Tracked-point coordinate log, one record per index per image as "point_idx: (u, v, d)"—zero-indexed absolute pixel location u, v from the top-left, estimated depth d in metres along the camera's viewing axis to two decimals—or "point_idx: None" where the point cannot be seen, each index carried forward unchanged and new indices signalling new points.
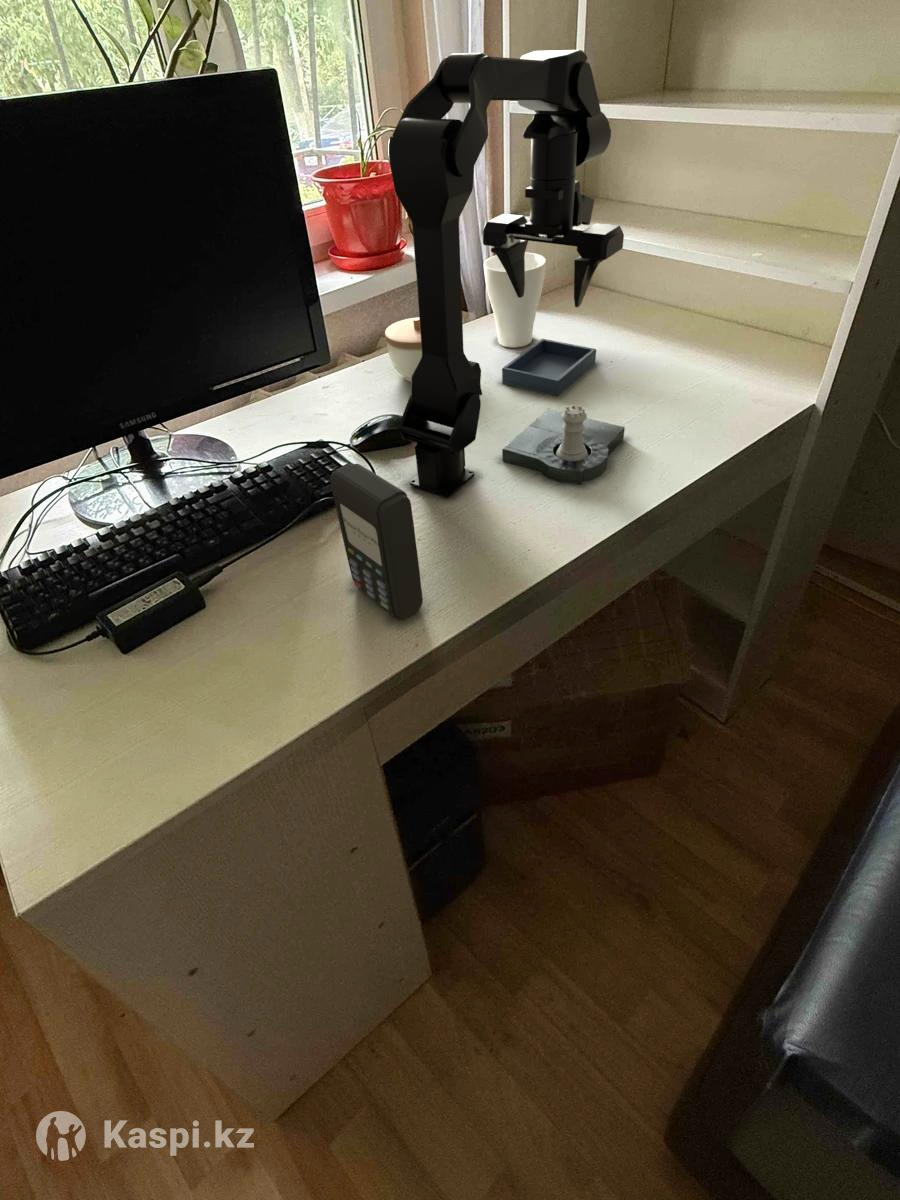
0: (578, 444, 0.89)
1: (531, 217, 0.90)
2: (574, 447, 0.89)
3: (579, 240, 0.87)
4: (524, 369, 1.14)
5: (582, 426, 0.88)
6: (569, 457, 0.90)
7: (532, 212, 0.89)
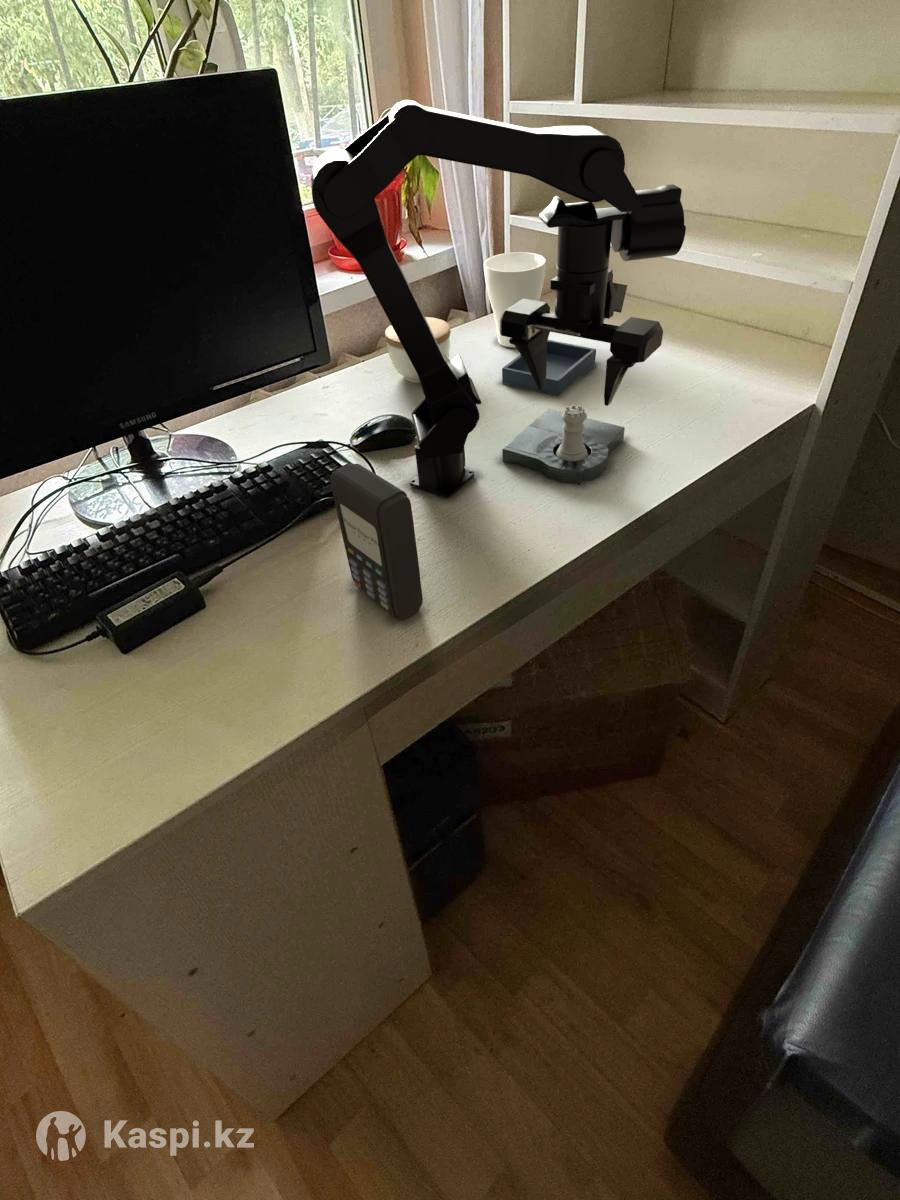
0: (578, 444, 0.89)
1: (557, 310, 0.78)
2: (574, 447, 0.89)
3: (613, 339, 0.76)
4: (524, 369, 1.14)
5: (582, 426, 0.88)
6: (569, 457, 0.90)
7: (558, 305, 0.78)
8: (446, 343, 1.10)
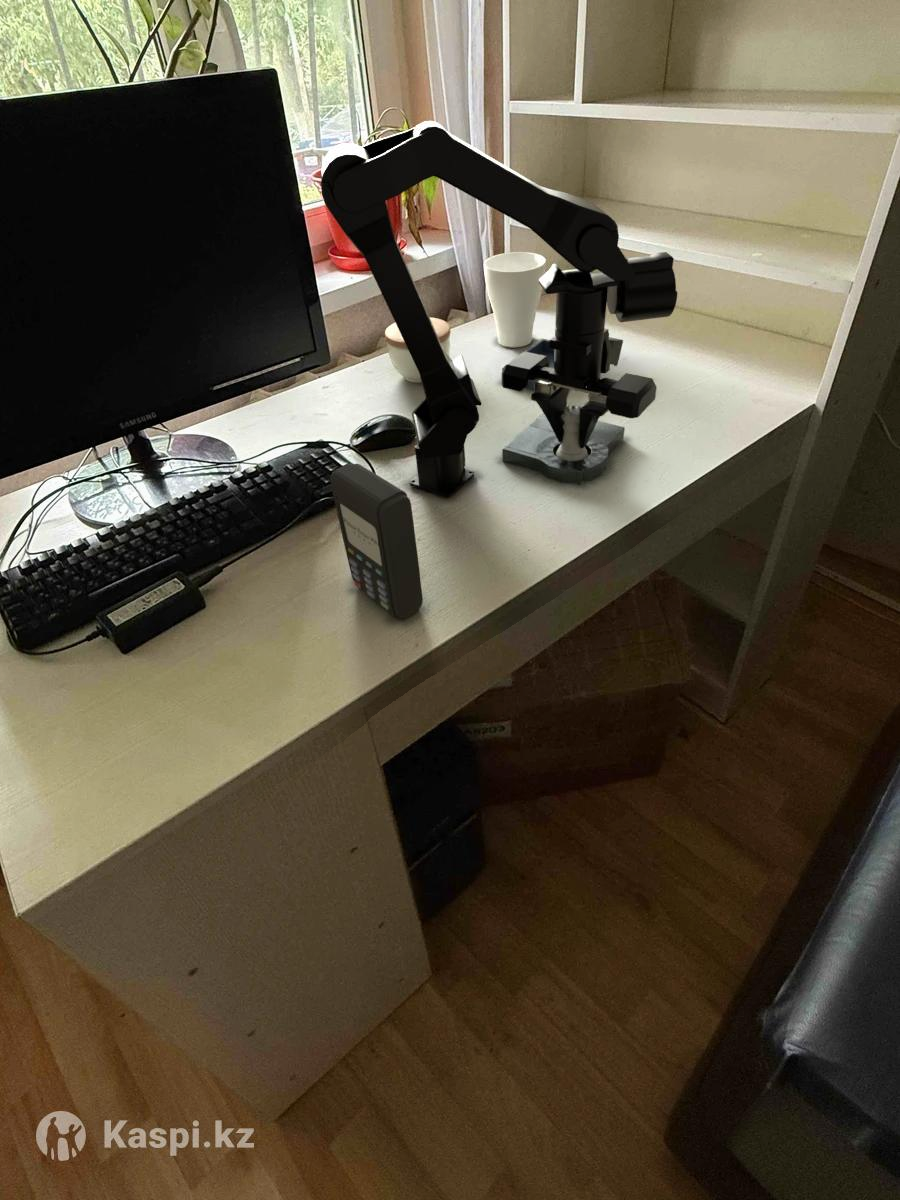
0: (578, 444, 0.89)
1: (555, 366, 0.83)
2: (574, 447, 0.89)
3: (608, 396, 0.80)
4: None
5: None
6: (569, 457, 0.90)
7: (557, 362, 0.82)
8: (446, 343, 1.10)
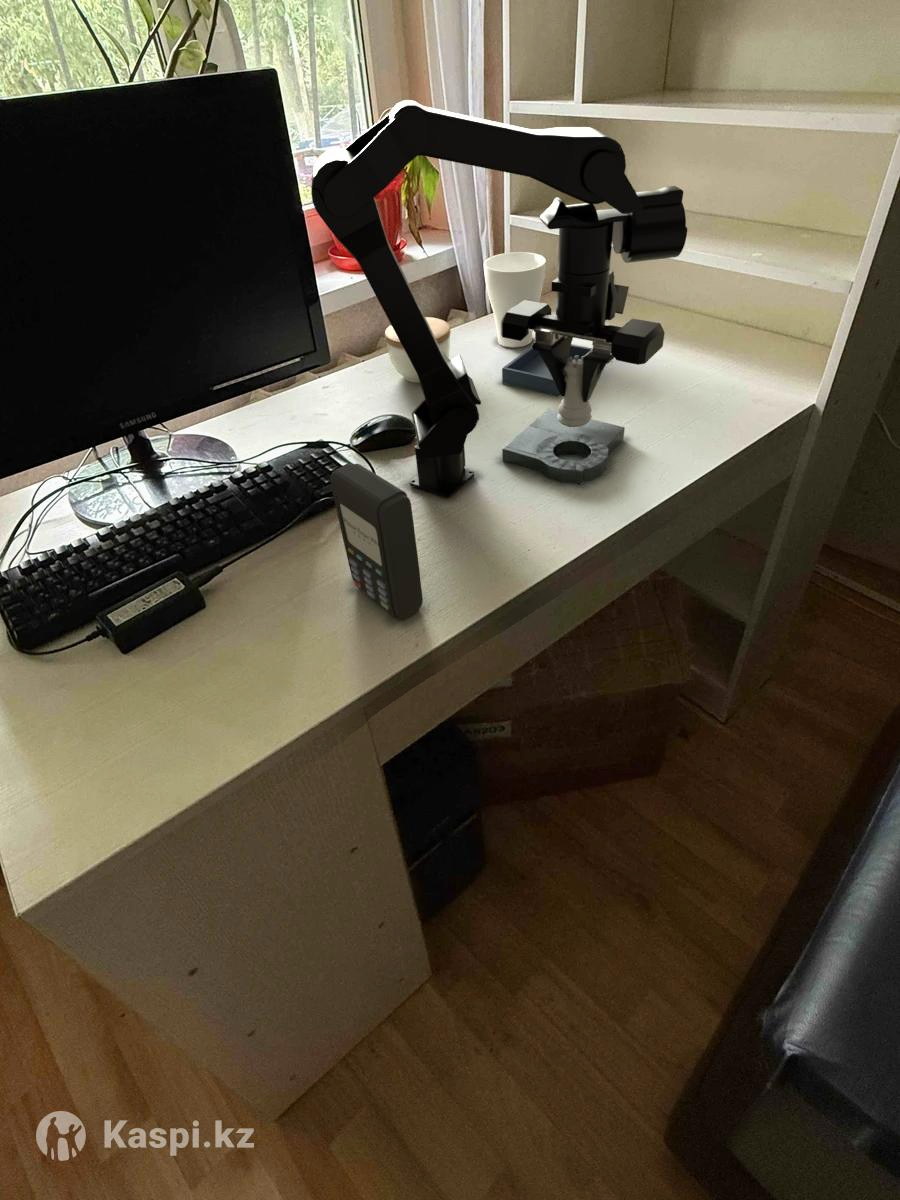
0: (581, 398, 0.85)
1: (558, 311, 0.78)
2: (577, 400, 0.85)
3: (614, 341, 0.76)
4: (524, 369, 1.14)
5: None
6: (571, 412, 0.86)
7: (559, 307, 0.78)
8: (446, 343, 1.10)
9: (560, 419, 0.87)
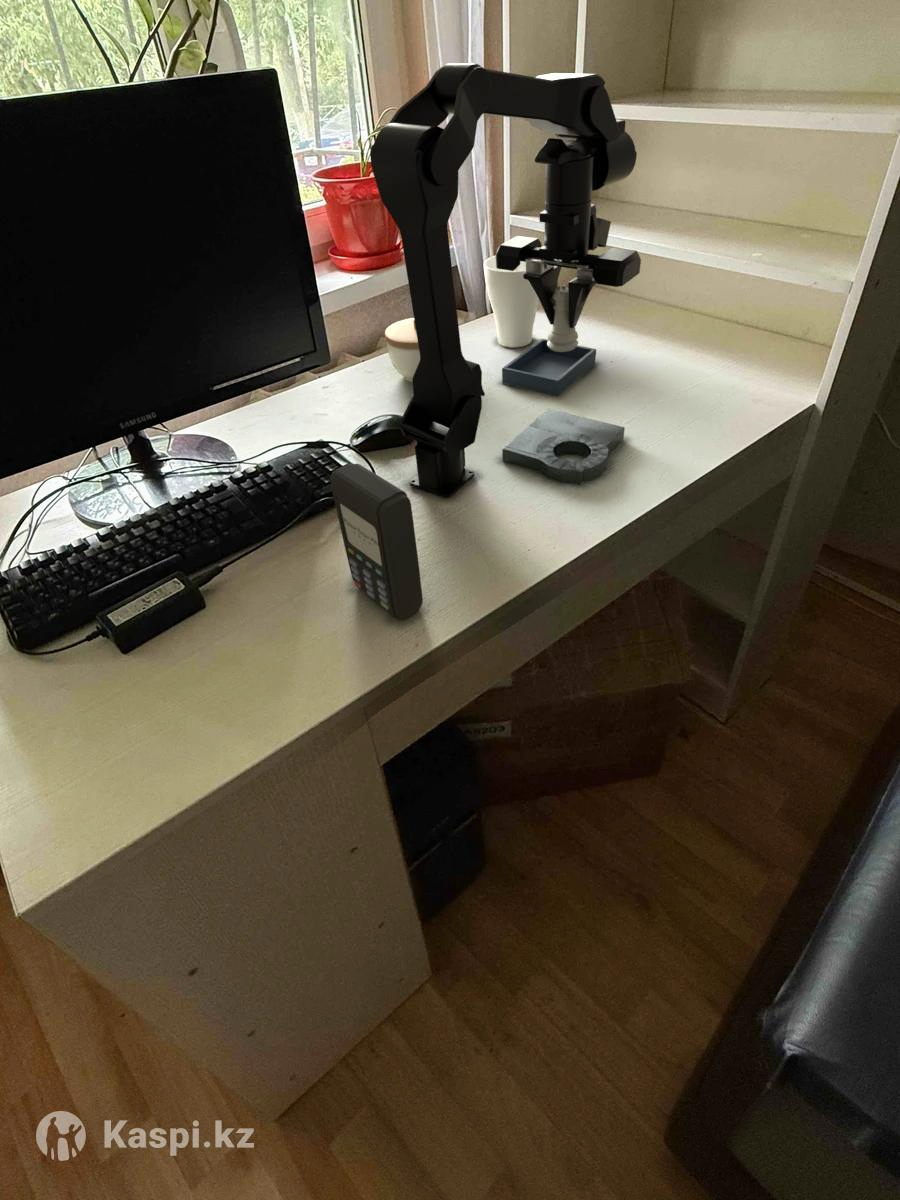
0: (568, 324, 0.94)
1: (545, 241, 0.88)
2: (564, 326, 0.94)
3: (595, 266, 0.85)
4: (524, 369, 1.14)
5: None
6: (559, 337, 0.95)
7: (546, 237, 0.87)
8: None
9: (549, 345, 0.97)
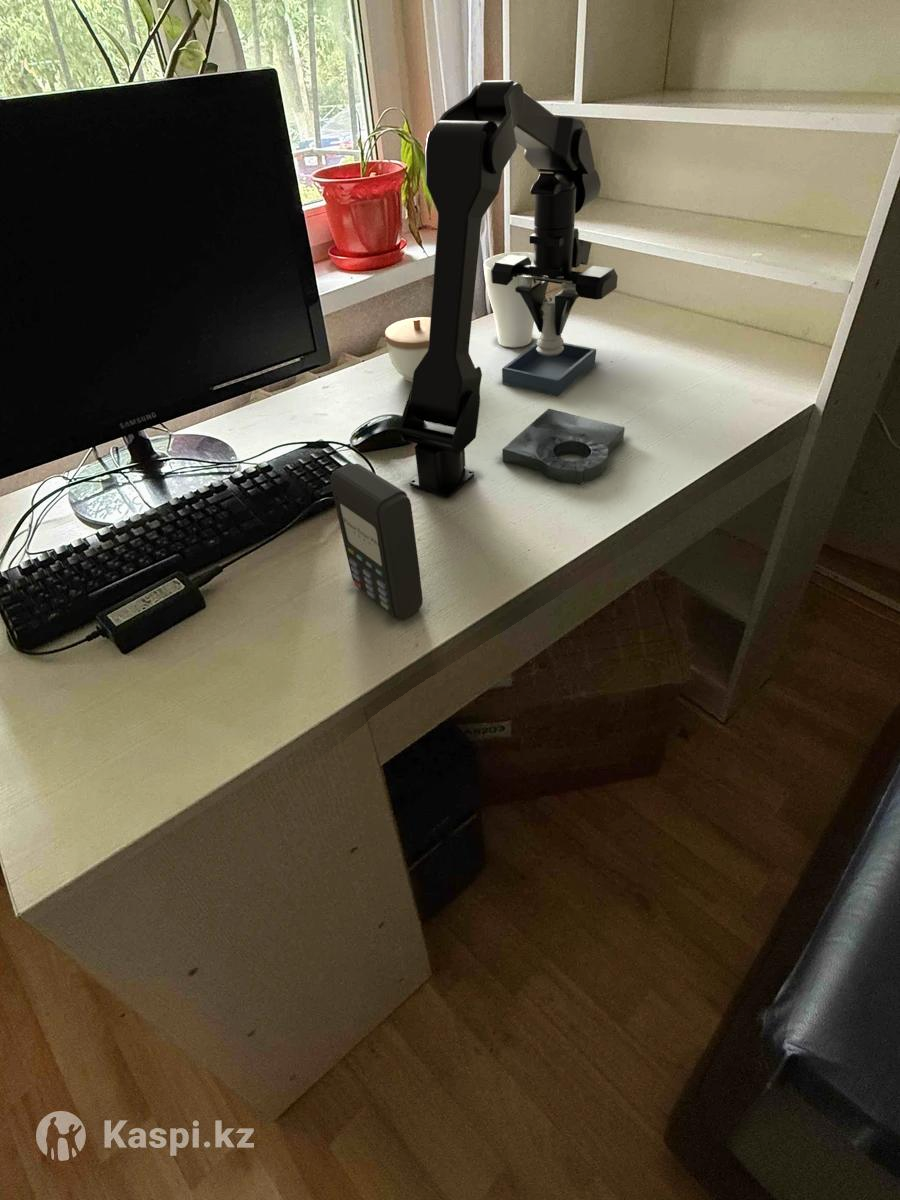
0: (555, 331, 1.07)
1: (535, 260, 1.01)
2: (552, 334, 1.07)
3: (577, 281, 0.98)
4: (524, 369, 1.14)
5: None
6: (547, 343, 1.08)
7: (536, 256, 1.00)
8: None
9: (539, 350, 1.10)
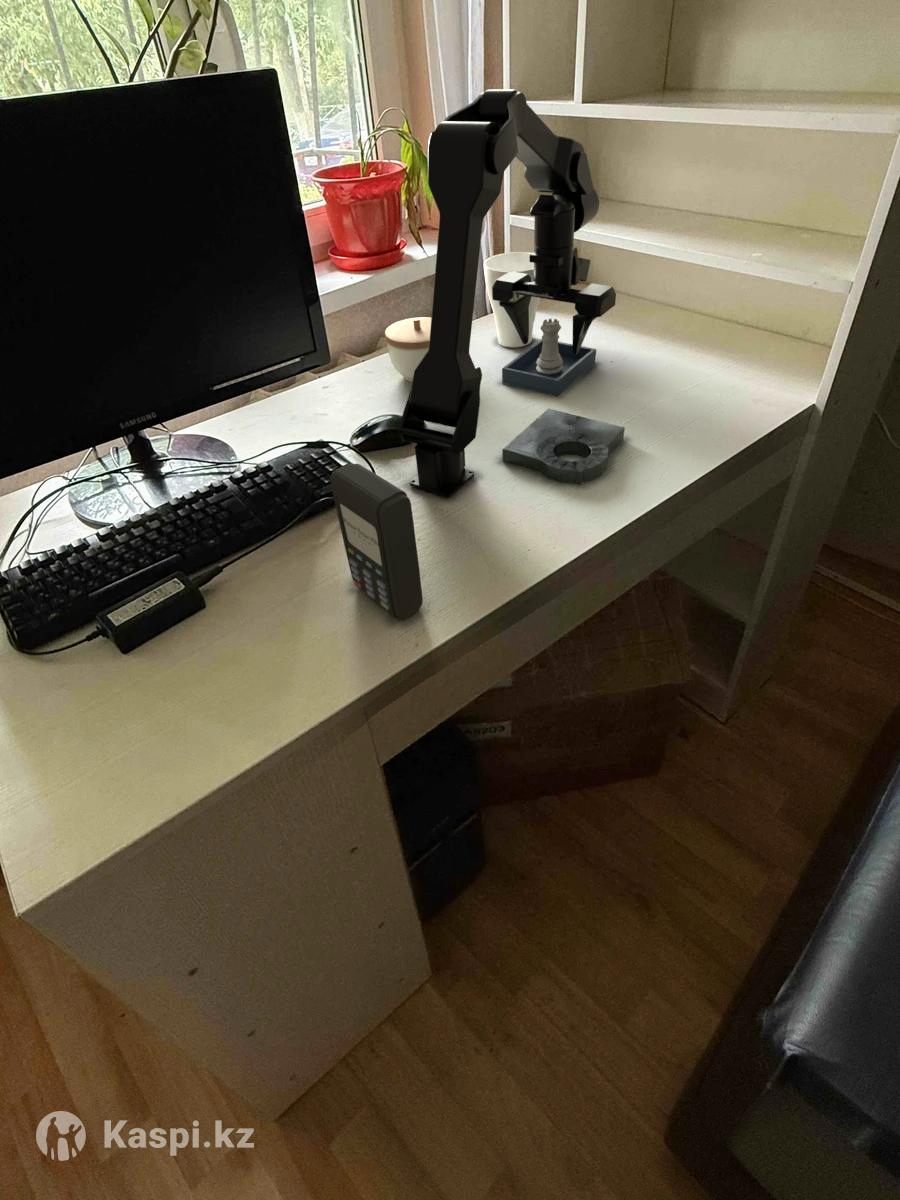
0: (554, 352, 1.09)
1: (535, 278, 1.02)
2: (551, 354, 1.09)
3: (577, 300, 1.00)
4: (524, 369, 1.14)
5: (557, 336, 1.08)
6: (547, 363, 1.10)
7: (535, 274, 1.02)
8: None
9: (538, 369, 1.12)
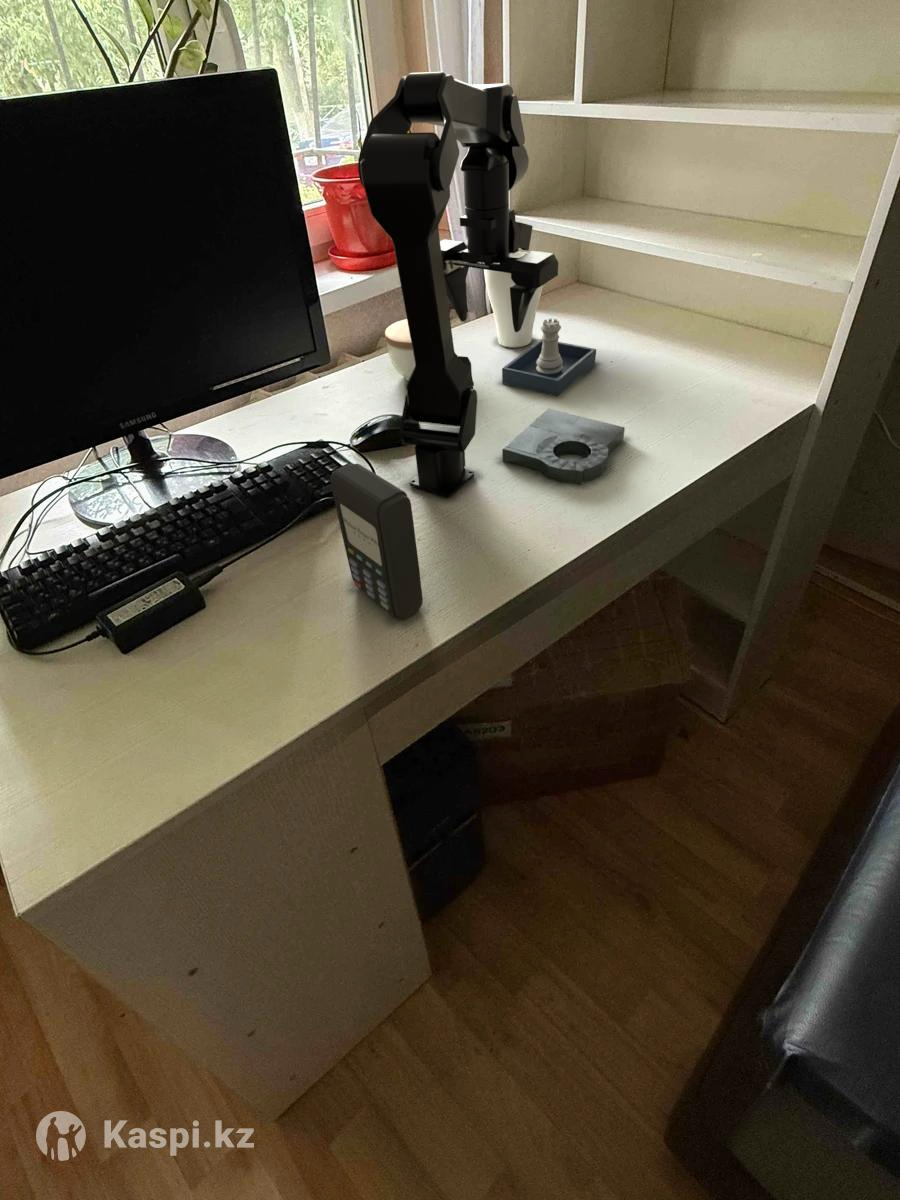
0: (554, 352, 1.09)
1: (467, 245, 0.91)
2: (551, 354, 1.09)
3: (513, 268, 0.88)
4: (524, 369, 1.14)
5: (557, 336, 1.08)
6: (547, 363, 1.10)
7: (468, 240, 0.90)
8: None
9: (538, 369, 1.12)
